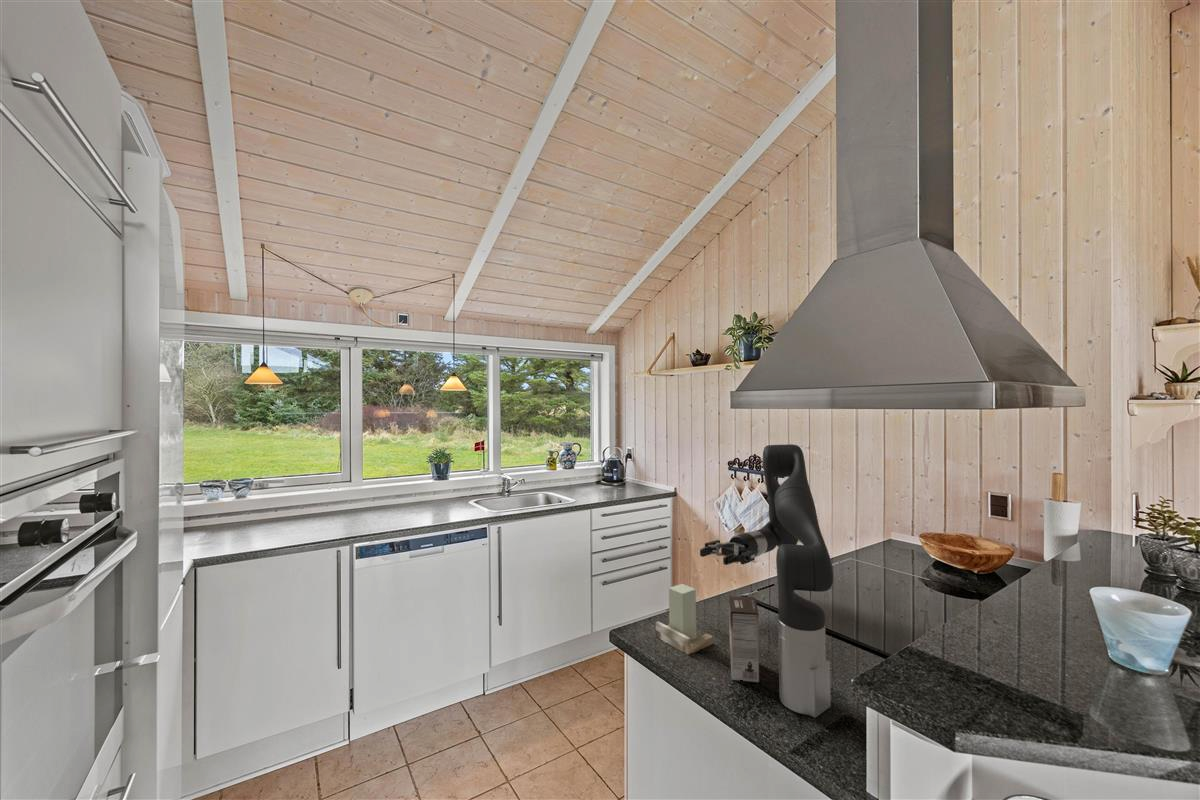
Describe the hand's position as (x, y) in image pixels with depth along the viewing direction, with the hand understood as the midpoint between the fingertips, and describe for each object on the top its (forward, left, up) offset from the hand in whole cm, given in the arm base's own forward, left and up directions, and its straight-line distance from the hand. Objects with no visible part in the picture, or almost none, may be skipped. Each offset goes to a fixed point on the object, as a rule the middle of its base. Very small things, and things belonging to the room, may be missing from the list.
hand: (712, 557), depth 138 cm
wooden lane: (0, +12, -20) cm, 23 cm away
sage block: (0, +12, -20) cm, 23 cm away
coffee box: (-19, +11, -20) cm, 30 cm away
